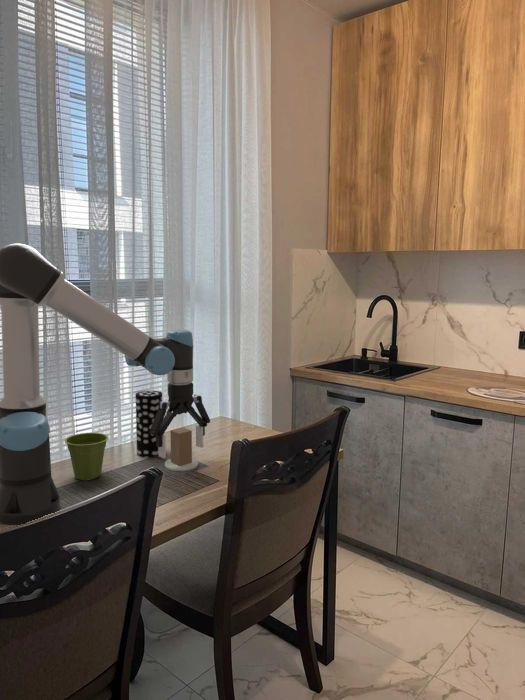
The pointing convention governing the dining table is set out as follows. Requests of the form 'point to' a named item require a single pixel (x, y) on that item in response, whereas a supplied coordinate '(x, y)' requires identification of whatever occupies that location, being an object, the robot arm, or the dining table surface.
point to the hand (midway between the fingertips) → (181, 451)
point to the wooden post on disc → (181, 451)
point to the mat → (162, 466)
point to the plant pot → (87, 454)
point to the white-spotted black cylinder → (146, 422)
